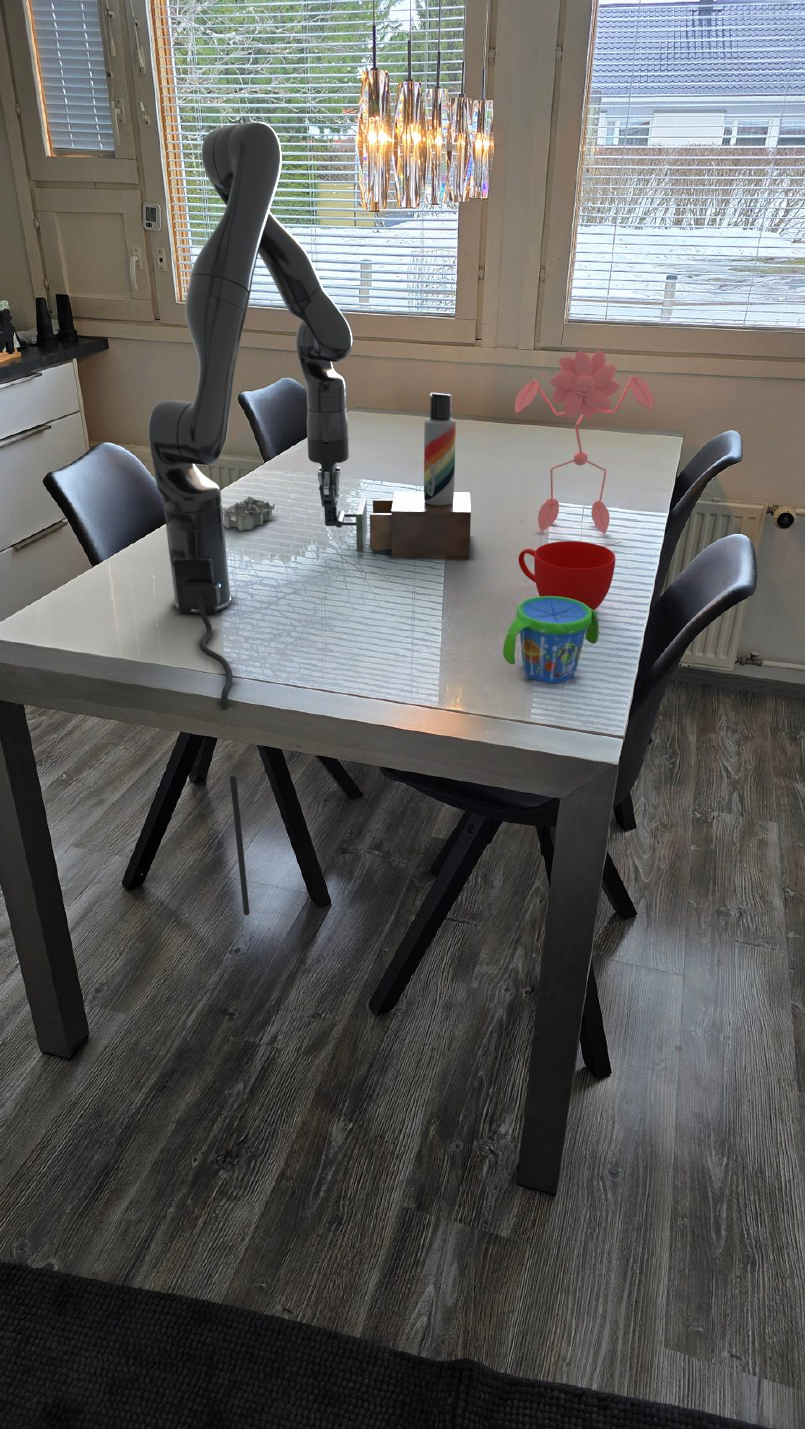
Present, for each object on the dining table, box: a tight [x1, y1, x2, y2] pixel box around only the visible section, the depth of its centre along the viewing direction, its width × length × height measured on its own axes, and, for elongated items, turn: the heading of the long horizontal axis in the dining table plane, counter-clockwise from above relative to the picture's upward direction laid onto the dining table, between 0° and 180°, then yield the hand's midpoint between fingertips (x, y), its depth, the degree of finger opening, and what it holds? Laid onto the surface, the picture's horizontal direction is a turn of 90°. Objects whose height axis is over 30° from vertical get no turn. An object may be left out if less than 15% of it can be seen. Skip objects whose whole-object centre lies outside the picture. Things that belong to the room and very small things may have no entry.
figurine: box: [514, 350, 655, 548], centre depth 190 cm, size 15×26×35 cm, turn 80°
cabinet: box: [391, 491, 472, 560], centre depth 191 cm, size 15×12×9 cm
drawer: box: [334, 496, 393, 553], centre depth 191 cm, size 18×11×7 cm, turn 88°
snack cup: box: [502, 596, 600, 684], centre depth 144 cm, size 16×10×10 cm
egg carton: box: [222, 496, 276, 531], centre depth 206 cm, size 11×8×4 cm
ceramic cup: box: [517, 540, 616, 611], centre depth 165 cm, size 13×17×10 cm
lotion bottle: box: [423, 392, 457, 506], centre depth 184 cm, size 6×6×20 cm
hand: (331, 524), depth 192 cm, fingers closed
